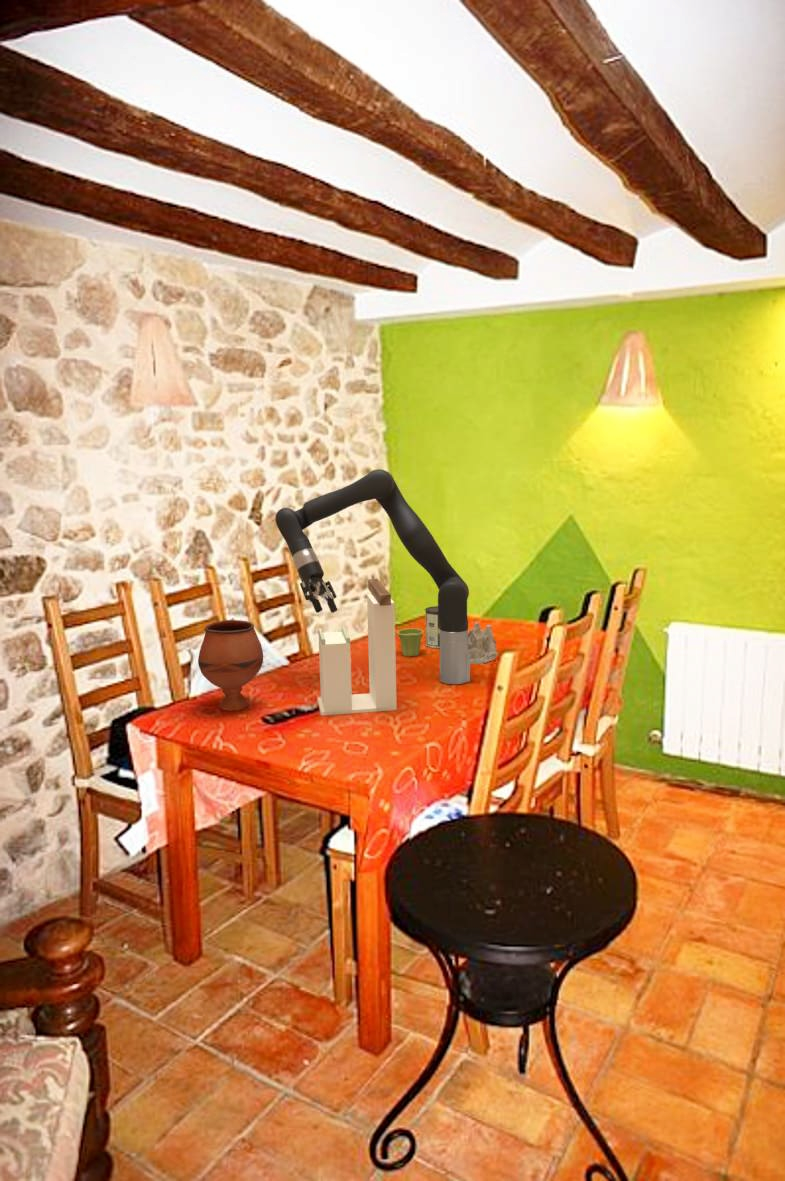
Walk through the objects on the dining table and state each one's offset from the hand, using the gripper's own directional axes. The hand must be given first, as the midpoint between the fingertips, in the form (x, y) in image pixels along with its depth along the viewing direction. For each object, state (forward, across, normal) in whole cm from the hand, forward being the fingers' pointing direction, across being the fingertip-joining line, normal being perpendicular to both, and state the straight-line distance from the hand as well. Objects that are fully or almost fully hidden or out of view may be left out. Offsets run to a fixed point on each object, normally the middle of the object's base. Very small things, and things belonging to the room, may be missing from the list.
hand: (327, 611), depth 250 cm
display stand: (+31, -4, +1) cm, 31 cm away
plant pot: (+16, +51, +4) cm, 53 cm away
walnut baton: (+5, -4, -20) cm, 21 cm away
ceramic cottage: (+27, +56, -16) cm, 64 cm away
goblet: (+17, -21, +30) cm, 40 cm away
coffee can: (+15, +67, 0) cm, 69 cm away
